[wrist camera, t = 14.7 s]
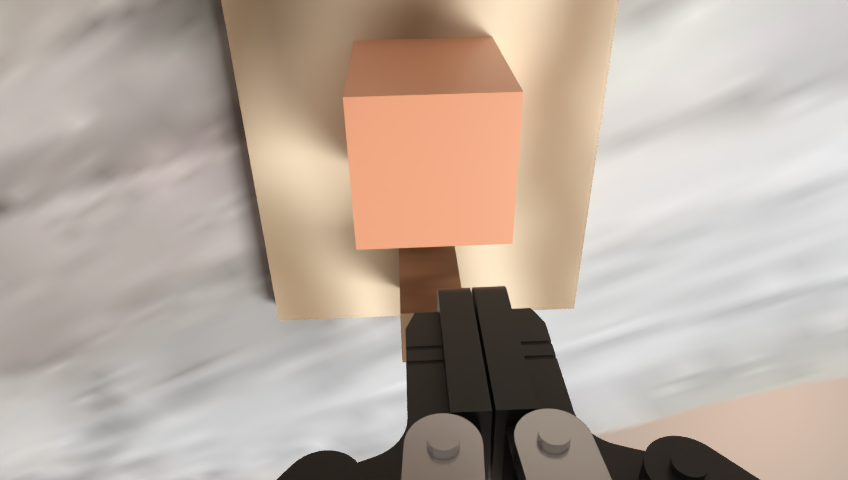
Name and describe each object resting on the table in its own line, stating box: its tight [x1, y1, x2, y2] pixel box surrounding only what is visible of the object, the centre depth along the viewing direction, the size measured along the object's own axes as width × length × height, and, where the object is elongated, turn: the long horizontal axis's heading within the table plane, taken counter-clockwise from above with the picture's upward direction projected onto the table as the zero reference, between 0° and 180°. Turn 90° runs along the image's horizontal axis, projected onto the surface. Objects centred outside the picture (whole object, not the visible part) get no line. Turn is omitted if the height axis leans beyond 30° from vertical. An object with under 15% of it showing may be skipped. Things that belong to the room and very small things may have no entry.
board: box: [221, 0, 619, 321], centre depth 25 cm, size 15×24×1 cm, turn 1°
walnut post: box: [399, 246, 462, 362], centre depth 27 cm, size 3×3×5 cm
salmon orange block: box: [343, 37, 523, 250], centre depth 23 cm, size 5×5×7 cm
